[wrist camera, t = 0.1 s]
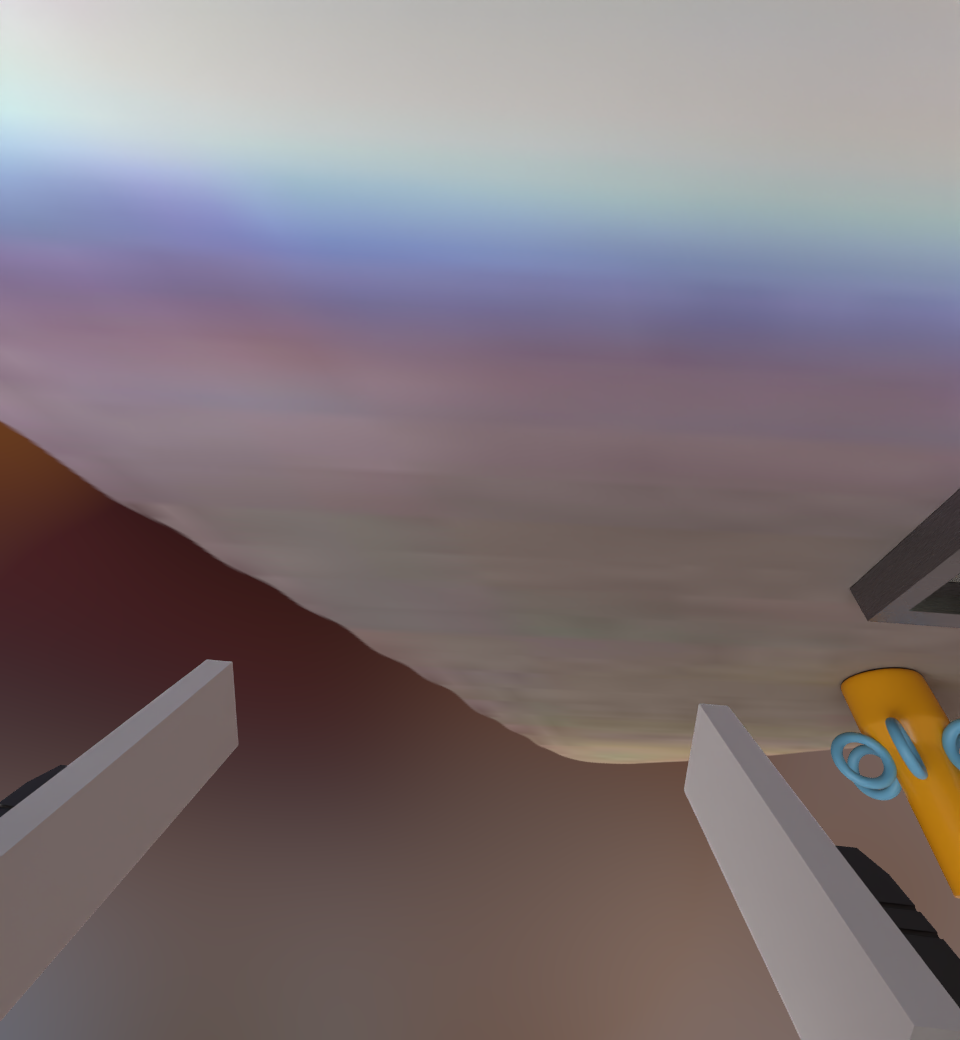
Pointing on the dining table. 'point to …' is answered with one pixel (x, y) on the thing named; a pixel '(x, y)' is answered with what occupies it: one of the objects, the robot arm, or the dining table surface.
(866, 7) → the dining table surface
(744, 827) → the robot arm
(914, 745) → the orange tall piece
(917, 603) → the collar
